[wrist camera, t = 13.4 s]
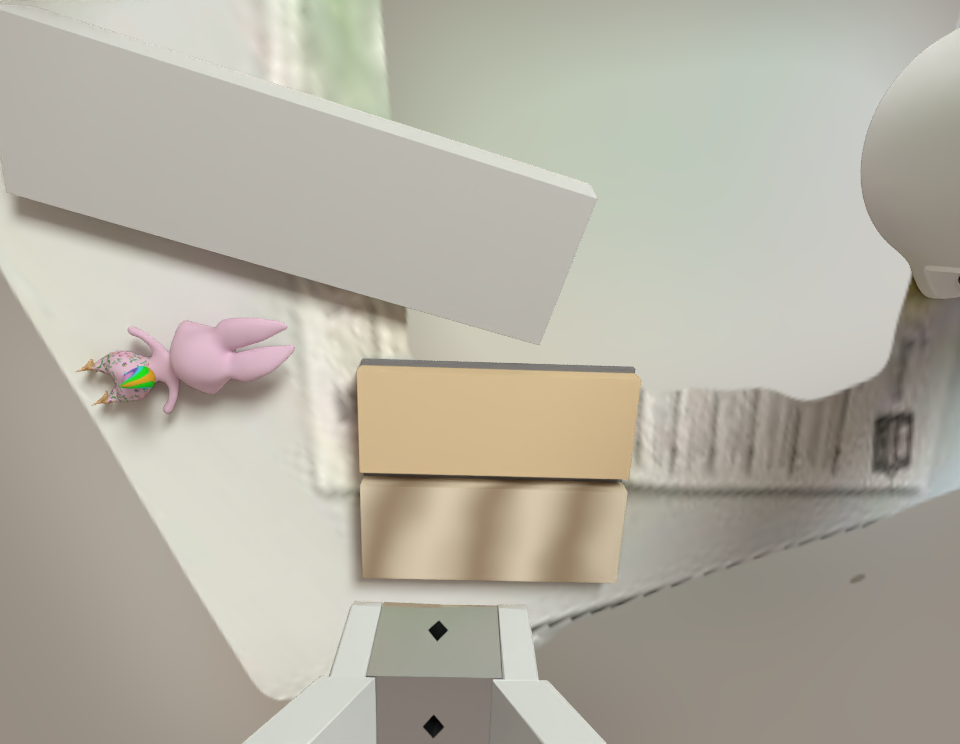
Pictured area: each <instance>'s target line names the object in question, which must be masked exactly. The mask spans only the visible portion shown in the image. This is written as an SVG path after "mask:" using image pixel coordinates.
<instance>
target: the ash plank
mask: <svg viewBox="0 0 960 744" xmlns="http://www.w3.org/2000/svg"><path fill="white" fill-rule="evenodd" d="M627 493H628V492H627V491H626V489H625V487H624V485H623V483H622V482H583V481H543V480H504V479H464V478H425V477H386V476H364V477H363V479H362V482H361V484H360V508H361V542H362V576H363V578H392V579H440V580H488V581H535V582H583V583H616V582H617V574H618V566H619V558H620V550H621V542H622V534H623V525H624V517H625V509H626V501H627Z"/></svg>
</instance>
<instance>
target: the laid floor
mask: <svg viewBox="0 0 960 744" xmlns="http://www.w3.org/2000/svg"><path fill="white" fill-rule="evenodd" d="M640 386H641V379H640V378H639V377H638V376H637V375H636V374H635V368H634V367H619V366H587V365H585V366H584V365H554V364H521V363H486V362H455V361H423V360H422V361H421V360H390V359H362V360H361V366H360V367H359V369H358V370H357V398H358V433H359V468H360V473H364V476H386V477H425V478H464V479H504V480H543V481H583V482H622V479H629V475H630V467H631V459H632V451H633V443H634V434H635V426H636V418H637V410H638V402H639V394H640Z"/></svg>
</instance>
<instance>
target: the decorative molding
mask: <svg viewBox="0 0 960 744" xmlns="http://www.w3.org/2000/svg"><path fill="white" fill-rule="evenodd" d="M0 156H1V162H2V168H3V174H4V180H5V186H6V192H7V193H10V194H13V195H17V196H20V197H24V198H27V199H31V200H34V201H38V202H41V203H45V204H48V205H52V206H55V207H59V208H62V209H66V210H69V211H73V212H76V213H80V214H83V215H87V216H90V217H94V218H97V219H100V220H104V221H107V222H111V223H114V224H118V225H121V226H125V227H128V228H132V229H135V230H139V231H142V232H146V233H149V234H153V235H156V236H160V237H163V238H167V239H170V240H174V241H177V242H181V243H184V244H188V245H191V246H195V247H198V248H202V249H205V250H209V251H212V252H216V253H219V254H223V255H226V256H230V257H233V258H237V259H240V260H243V261H247V262H250V263H254V264H257V265H261V266H264V267H268V268H271V269H275V270H278V271H282V272H285V273H289V274H292V275H296V276H299V277H303V278H306V279H310V280H313V281H317V282H320V283H324V284H327V285H331V286H334V287H338V288H341V289H345V290H348V291H352V292H355V293H359V294H362V295H366V296H369V297H373V298H376V299H380V300H383V301H386V302H390V303H393V304H397V305H400V306H404V307H407V308H411V309H414V310H418V311H421V312H425V313H428V314H432V315H435V316H439V317H442V318H446V319H449V320H453V321H456V322H460V323H464V324H467V325H470V326H474V327H477V328H481V329H484V330H488V331H491V332H495V333H498V334H502V335H505V336H509V337H512V338H516V339H520V340H523V341H526V342H529V343H533V344H536V345H540V343H541V340H542V338H543V335H544V333H545V330H546V327H547V325H548V322H549V320H550V317H551V315H552V312H553V310H554V307H555V305H556V302H557V300H558V297H559V295H560V292H561V290H562V287H563V285H564V282H565V279H566V277H567V274H568V272H569V269H570V267H571V264H572V262H573V259H574V257H575V254H576V252H577V249H578V247H579V244H580V242H581V239H582V237H583V234H584V232H585V229H586V226H587V224H588V222H589V219H590V216H591V214H592V211H593V209H594V206H595V204H596V201H597V197H596V195H595V193H594V191H593V189H592V187H591V185H590V184H588V183H585V182H582V181H579V180H576V179H573V178H570V177H566V176H563V175H560V174H557V173H554V172H551V171H548V170H544V169H541V168H538V167H535V166H532V165H529V164H526V163H523V162H520V161H516V160H513V159H510V158H507V157H504V156H501V155H498V154H495V153H491V152H488V151H485V150H482V149H479V148H476V147H472V146H470V145H466V144H463V143H460V142H457V141H454V140H451V139H448V138H444V137H441V136H438V135H435V134H432V133H428V132H426V131H422V130H419V129H416V128H413V127H410V126H406V125H404V124H400V123H397V122H394V121H391V120H388V119H385V118H382V117H379V116H376V115H372V114H369V113H366V112H363V111H360V110H357V109H354V108H350V107H347V106H344V105H341V104H338V103H335V102H332V101H329V100H325V99H322V98H319V97H316V96H313V95H310V94H307V93H303V92H300V91H297V90H294V89H291V88H288V87H285V86H282V85H278V84H275V83H272V82H269V81H266V80H263V79H260V78H256V77H253V76H250V75H247V74H244V73H241V72H238V71H234V70H231V69H228V68H225V67H222V66H219V65H216V64H213V63H209V62H206V61H203V60H200V59H197V58H194V57H191V56H187V55H184V54H181V53H178V52H175V51H172V50H169V49H166V48H162V47H159V46H156V45H153V44H150V43H147V42H144V41H140V40H137V39H134V38H131V37H128V36H125V35H122V34H118V33H115V32H112V31H109V30H106V29H103V28H99V27H96V26H93V25H90V24H87V23H84V22H81V21H77V20H74V19H71V18H68V17H65V16H62V15H59V14H55V13H52V12H49V11H46V10H43V9H40V8H36V7H33V6H26V5H13V4H0Z"/></svg>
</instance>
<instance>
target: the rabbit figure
mask: <svg viewBox="0 0 960 744" xmlns="http://www.w3.org/2000/svg"><path fill="white" fill-rule="evenodd" d="M286 328H287V325H286V324H284V323H282V322H279V321H274V320H267V319H259V318H230V319H225V320H222V321H221V322H219V323H218V324H217V326H216V327H215V328H213V327H209V326H206V325H202V324H198V323H194V322H191V321H183V322H182V323H180V325H179V326H178V328H177V330H176V332H175V335H174V338H173V341H172V344H171V348H170V353H169V352H168V351H167V350H166V349H165V348H164V347H163V346H162V345H161V344H160V343H159V342H158V341H156V340H155V339H154V338H153V337H151V336H150V335H148V334H147V333H145V332H143V331H142V330H140V329H138V328H136V327H133V326H131V327H129V328H128V332H129V334H131V335H133V336H136V337H138V338H140V339H142V340H143V341H144V342H146V343H147V344H148V345H149V346H150V348H151V349H152V357H150V358H146V357H144V356H141V355H138V354H136V353H133V352H129V351H116V352H112V353H110V354H108V355H106V356H104V357H103V358H101V359H100V360H98V361H97V362H96V363H92V361H93V359H91V361H89V362H88V363H87V364H86V365H85V366H84V367H82V369H81V370H77V371H76V372H80V371H85V370H92V371H94V370H95V371H96V372H97V371H100V372H103V373H106V374H110V375H111V376H112V377H113V379H114V380H115V383H116V386H115V387H114V389H113V390H112V392H111V393H110V395H109V396H108V394H107V393H108V392H107V391H106V394H104V396H103V397H102V398H101V399H100V400H98V402H97V403H94V404H93V405H96V404H100V403H105V404H107V403H110V402H111V403H113V402H130V401H137V400H140V399H142V398H143V397H145V396H146V395H147V394H148V393H149V391H150V390H151V388H152V387H153V386H154V384H155V383H156V382H157V381H162V382H164V383H166V384H167V386H168V388H169V398H168V401H167V403H166V404H165V406H164V408H163V410H164V412H165V413H167V414H169V413H171V412H172V410H173V408H174V406H175V403H176V400H177V397H178V391H179V379H180V380H181V381H183V382H184V383H186V384H187V385H189V386H191V387H193V388H195V389H197V390H200V391H202V392H204V393H207V394H215V393H217V392H218V391H219V390H220V389H221V388H222V387H223V386H224V385H225V384H226V383H227V382H228V381H229V380H230V379H236V380H239V381H252V380H256V379H258V378H260V377H263V376H265V375H267V374H269V373H270V372H272V371H273V370H275V369H276V368H277V367H279V366H280V365H281V364H282V363H283V362H284V361H285V360H286V359H287V358H288V357H289V356H290V355H291V354H292V353H293V351H294V348H295V347H294V345H285V346H269V347H262V348H257V349H251V350H247V351H242V352H238V353H236V350H235V349H237V348H241V347H244V346H247V345H251V344H254V343H258V342H261V341H263V340H265V339H268V338H270V337H271V336H273V335H275V334H277V333H279V332H281V331H283V330H285V329H286Z"/></svg>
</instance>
